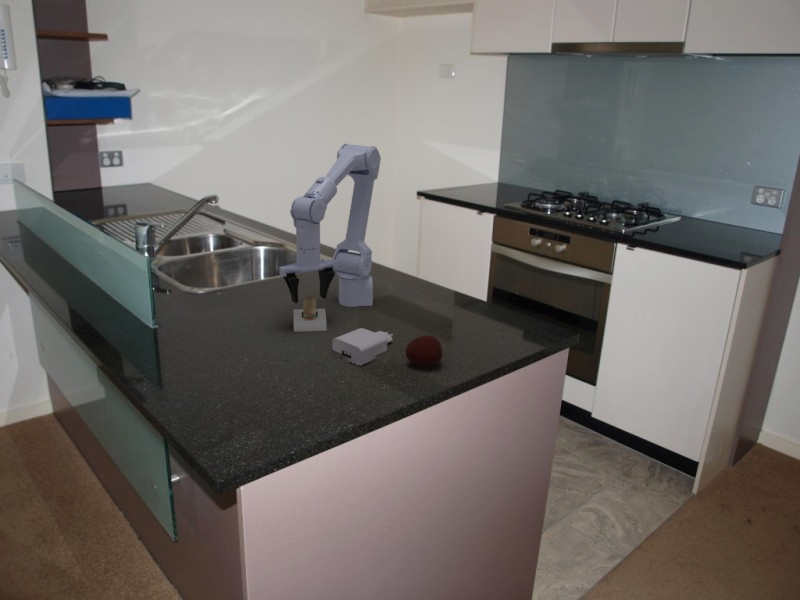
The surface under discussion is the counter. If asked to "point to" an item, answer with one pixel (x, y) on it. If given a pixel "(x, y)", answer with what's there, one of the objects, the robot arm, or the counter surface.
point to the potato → (424, 351)
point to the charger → (361, 345)
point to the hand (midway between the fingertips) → (309, 299)
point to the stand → (309, 321)
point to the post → (309, 306)
